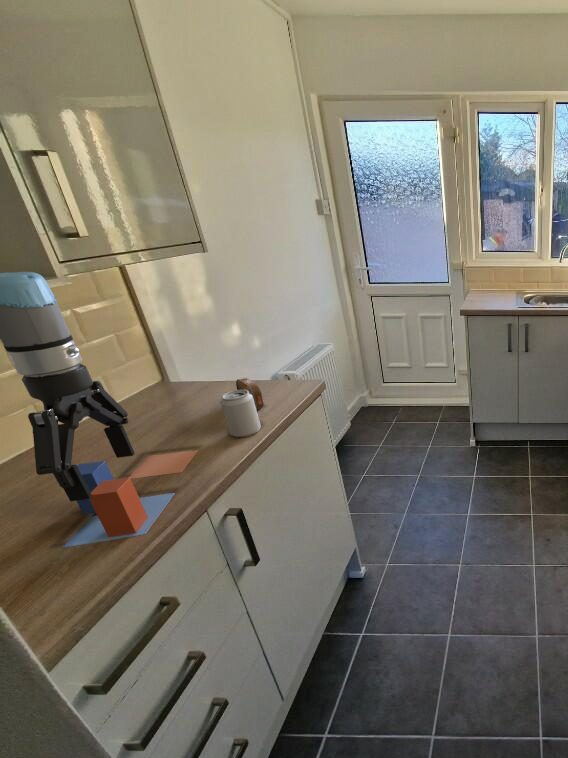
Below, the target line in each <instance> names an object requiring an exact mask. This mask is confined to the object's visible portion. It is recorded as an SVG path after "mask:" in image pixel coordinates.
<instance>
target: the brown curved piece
mask: <svg viewBox="0 0 568 758" xmlns="http://www.w3.org/2000/svg"><path fill="white" fill-rule="evenodd" d="M235 386H236V390H247V391H249V394H251V395H252V396H253V399H254V403H255V406H256V410H257V411H258V410H261V409H264V404H265V403H264V399H263V393H262V390H261V388H260V386H259V385H258V384H257V383H255V382H254V381H252V380H251V379H249V378H247V377H243V378H237V379H236V382H235Z"/></svg>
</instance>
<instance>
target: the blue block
mask: <svg viewBox="0 0 568 758" xmlns="http://www.w3.org/2000/svg"><path fill="white" fill-rule="evenodd" d="M76 465H77V467H78V469H79V471H80V473H81V475H82V477H83V479H84V481H85V482H86V484H87V486H88V488H89V490H90V492H92V491H93V490H94V489H95V488H96V487H97V486H98V485H99V484H100V483H101V482H102V481H107V480H115V478H114V476H113V474H112V472H111V470H110V468H109V466H108V464H107V461H106V460H101V461H94V462H84V463H79V464H76ZM76 503H77V504H78V507H79V509H80V511H81V512H82V515H89V514H92V515H91V516H96V515H97V514H96V512H95V510H94V508H93V506H92V504H91V502H90V500H89V499H84V500H77V501H76Z"/></svg>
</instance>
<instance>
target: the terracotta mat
mask: <svg viewBox="0 0 568 758" xmlns="http://www.w3.org/2000/svg"><path fill="white" fill-rule="evenodd" d="M199 451H200V449H195V450H186V451H185V450H184V451H179V452H178V451H177V452H169V453H162V454H154V455H148V456H147V457H146V458H145V459H144V460H143V461H142V462H141V463H140V464H139V465H138V466H137V468H136V469H135V470H134V471H133V472H131V474H130V475H129V476H128V477H127V478H130V479H131V480H133V479H141V478H147V477H157V476H164V475H170V474H179V473H182V472H184V471H185V469H186V468H187V466H188V465H189V464H190V462H191V461H192V460H193V459H194V457H195V456H196V455H197V453H198V452H199Z"/></svg>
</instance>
